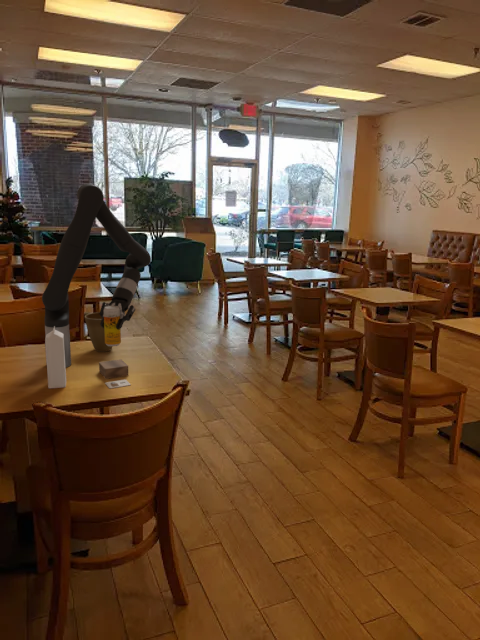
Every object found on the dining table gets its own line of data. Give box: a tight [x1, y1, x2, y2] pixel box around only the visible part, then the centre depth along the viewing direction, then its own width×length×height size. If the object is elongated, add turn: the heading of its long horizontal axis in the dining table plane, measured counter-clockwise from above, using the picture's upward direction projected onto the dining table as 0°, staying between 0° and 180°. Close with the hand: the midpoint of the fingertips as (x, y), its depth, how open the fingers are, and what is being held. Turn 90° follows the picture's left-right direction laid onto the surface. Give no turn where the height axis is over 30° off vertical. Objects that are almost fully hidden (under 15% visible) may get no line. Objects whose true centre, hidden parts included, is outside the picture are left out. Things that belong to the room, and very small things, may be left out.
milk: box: [44, 326, 67, 389], centre depth 184 cm, size 6×6×22 cm
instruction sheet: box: [104, 378, 131, 390], centre depth 189 cm, size 8×6×1 cm
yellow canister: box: [104, 306, 122, 347], centre depth 196 cm, size 6×6×15 cm
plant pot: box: [84, 311, 114, 353], centre depth 228 cm, size 15×15×16 cm
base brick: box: [98, 358, 129, 380], centre depth 200 cm, size 9×9×4 cm
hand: (110, 327), depth 194 cm, fingers closed on yellow canister, 6 cm apart
